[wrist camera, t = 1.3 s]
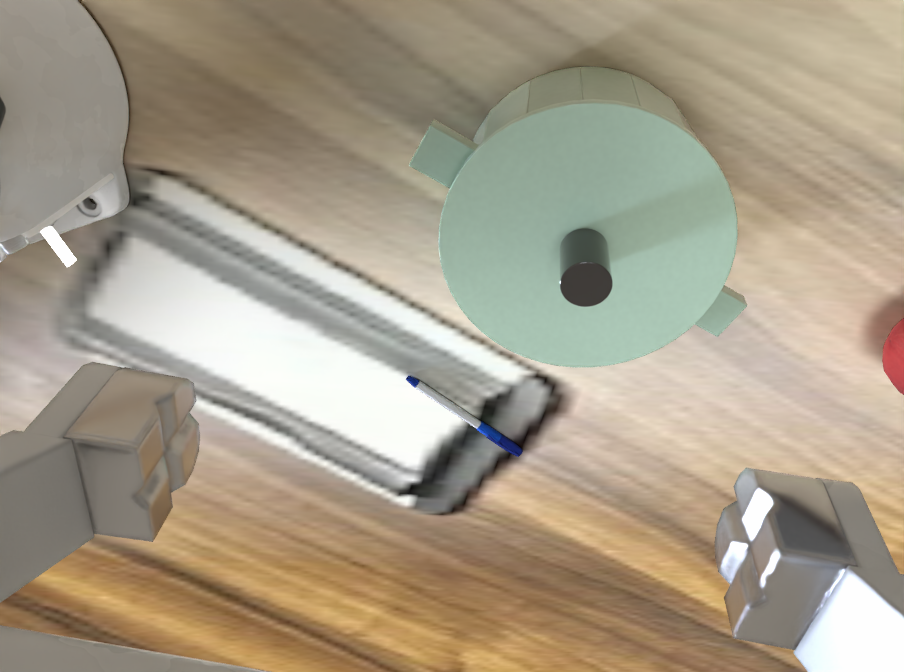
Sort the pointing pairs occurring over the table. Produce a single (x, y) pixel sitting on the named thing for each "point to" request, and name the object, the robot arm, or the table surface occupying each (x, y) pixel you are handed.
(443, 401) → the ballpoint pen
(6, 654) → the robot arm
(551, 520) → the table surface
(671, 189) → the pot lid
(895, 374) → the onion
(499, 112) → the pot
